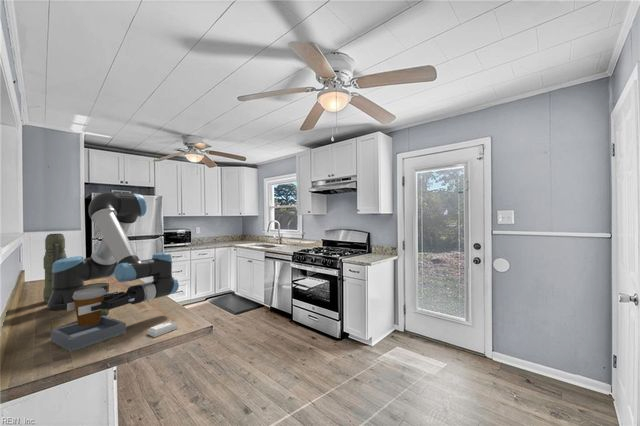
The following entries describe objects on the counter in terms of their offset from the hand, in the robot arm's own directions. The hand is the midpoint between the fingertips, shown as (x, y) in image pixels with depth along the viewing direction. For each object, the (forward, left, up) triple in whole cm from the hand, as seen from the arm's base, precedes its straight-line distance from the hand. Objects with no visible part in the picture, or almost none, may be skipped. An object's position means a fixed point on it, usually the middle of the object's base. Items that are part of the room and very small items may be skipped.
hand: (73, 309), depth 98 cm
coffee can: (-21, +15, -12) cm, 28 cm away
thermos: (-69, +17, -12) cm, 72 cm away
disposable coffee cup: (0, +5, -7) cm, 8 cm away
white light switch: (+19, +21, -12) cm, 31 cm away
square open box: (0, +5, -11) cm, 12 cm away
